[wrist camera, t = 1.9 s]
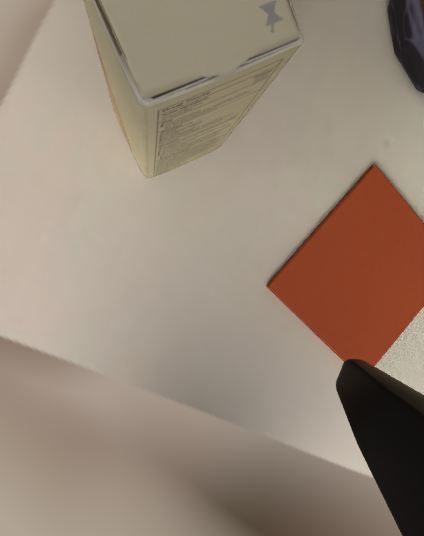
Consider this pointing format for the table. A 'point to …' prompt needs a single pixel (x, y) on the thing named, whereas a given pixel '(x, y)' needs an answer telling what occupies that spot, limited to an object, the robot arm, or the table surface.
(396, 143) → the table surface
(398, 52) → the mug
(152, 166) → the box
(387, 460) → the robot arm
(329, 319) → the mat
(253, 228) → the table surface
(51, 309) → the table surface
